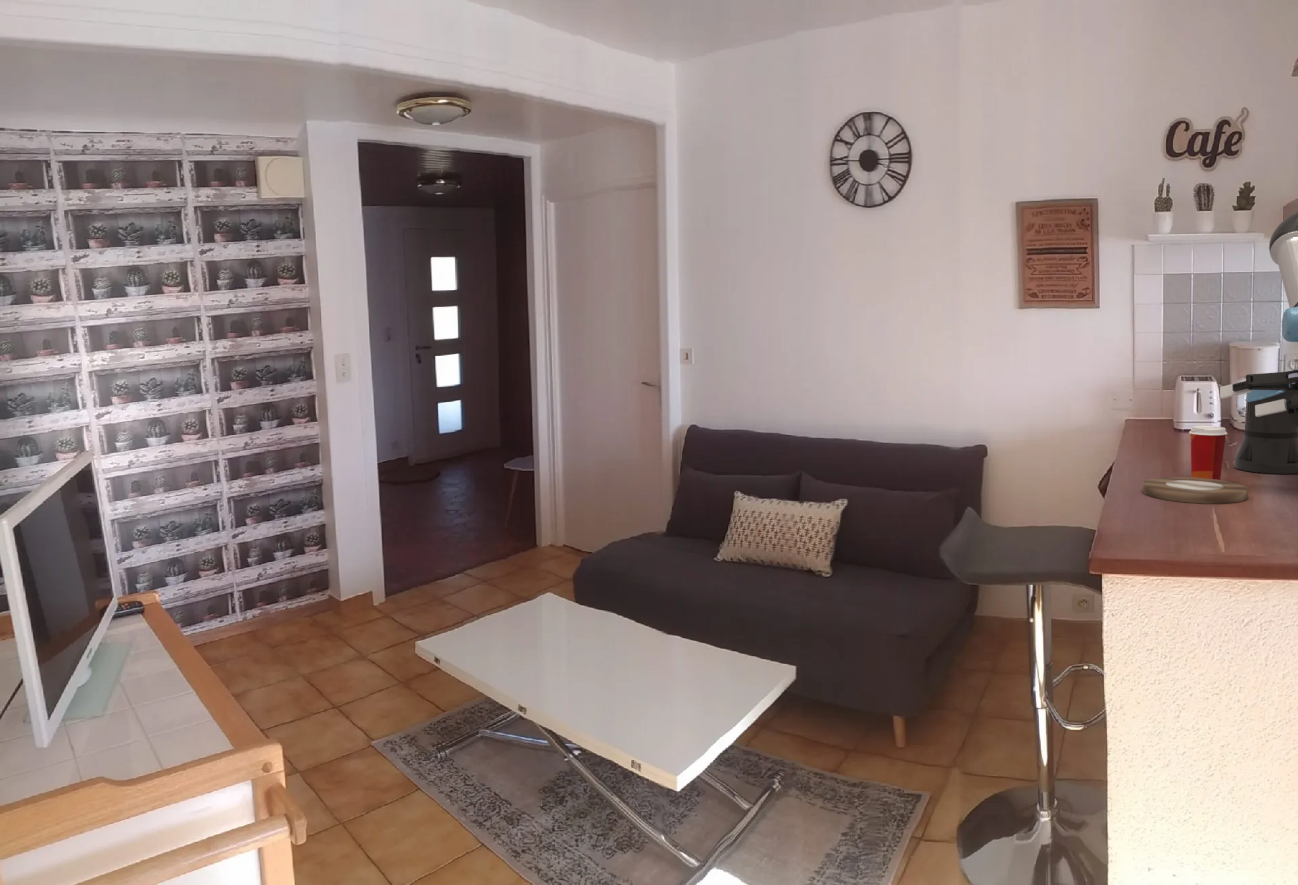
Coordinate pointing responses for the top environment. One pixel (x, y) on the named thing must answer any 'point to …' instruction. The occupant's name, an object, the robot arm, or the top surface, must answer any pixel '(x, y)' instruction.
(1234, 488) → the disc
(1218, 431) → the paper cup
